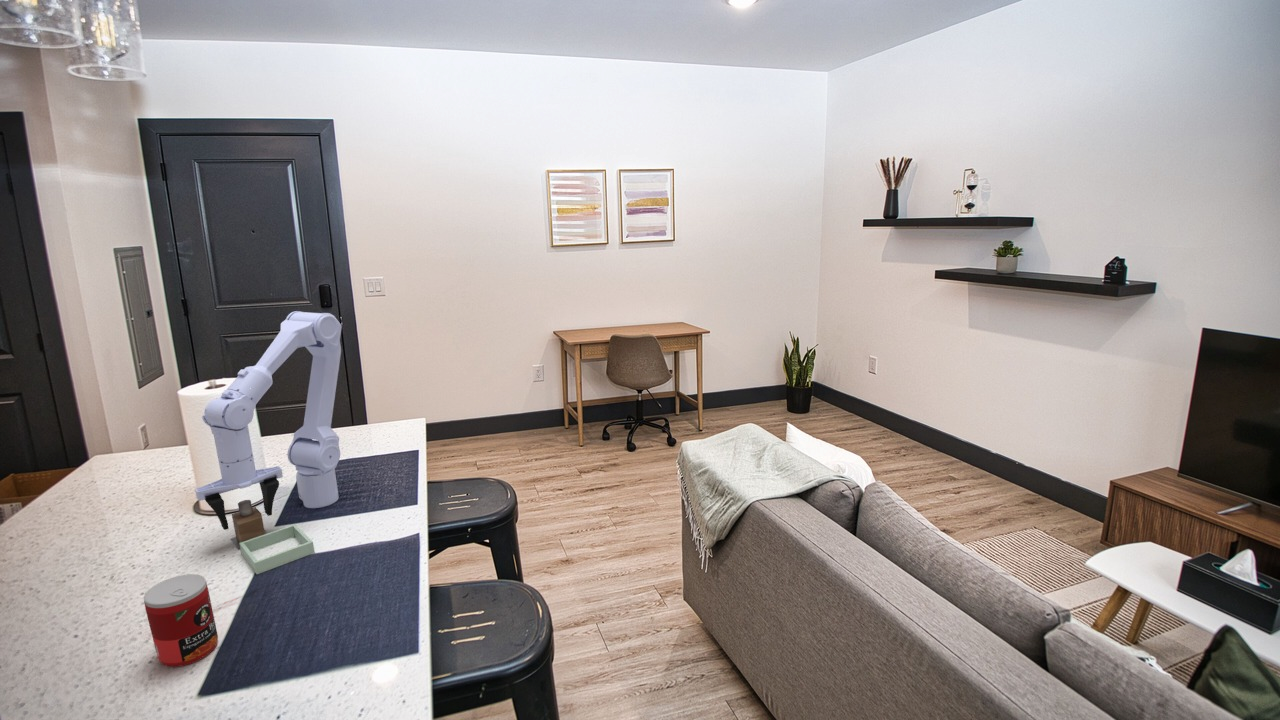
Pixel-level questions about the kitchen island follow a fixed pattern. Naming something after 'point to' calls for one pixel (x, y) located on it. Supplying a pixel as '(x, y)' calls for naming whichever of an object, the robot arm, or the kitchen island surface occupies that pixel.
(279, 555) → the bin
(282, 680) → the kitchen island surface
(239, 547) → the stud plate
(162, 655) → the canned food
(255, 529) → the brown square bottle
